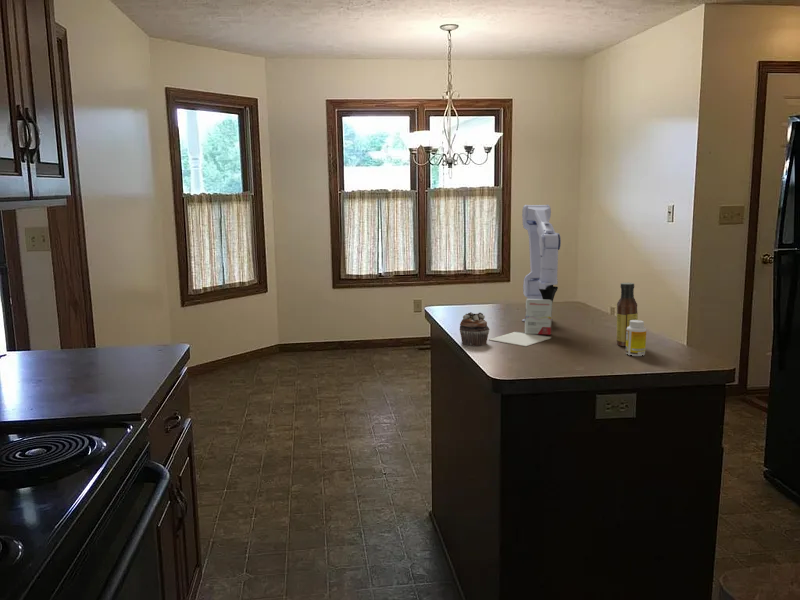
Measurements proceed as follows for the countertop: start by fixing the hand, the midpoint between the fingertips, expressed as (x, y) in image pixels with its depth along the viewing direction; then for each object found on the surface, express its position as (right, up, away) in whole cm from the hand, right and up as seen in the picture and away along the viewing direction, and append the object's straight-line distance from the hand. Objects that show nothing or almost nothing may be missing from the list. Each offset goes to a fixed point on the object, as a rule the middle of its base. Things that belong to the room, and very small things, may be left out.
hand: (547, 307), depth 226 cm
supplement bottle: (+18, -14, -33) cm, 40 cm away
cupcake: (-28, -12, -17) cm, 35 cm away
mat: (-12, -10, -12) cm, 19 cm away
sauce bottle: (+20, -12, -21) cm, 31 cm away
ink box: (-4, -9, -4) cm, 11 cm away
